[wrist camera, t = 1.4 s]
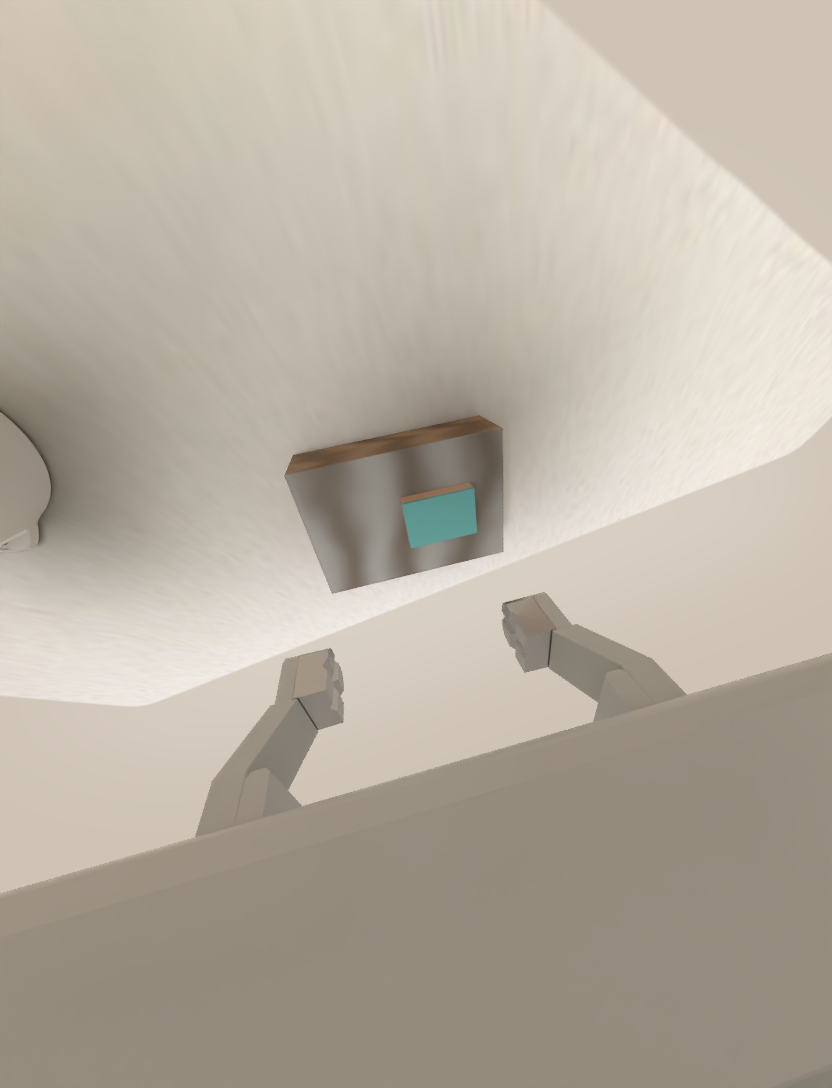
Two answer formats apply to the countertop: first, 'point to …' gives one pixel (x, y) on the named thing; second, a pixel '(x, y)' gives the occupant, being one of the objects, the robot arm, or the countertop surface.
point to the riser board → (396, 499)
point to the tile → (439, 514)
